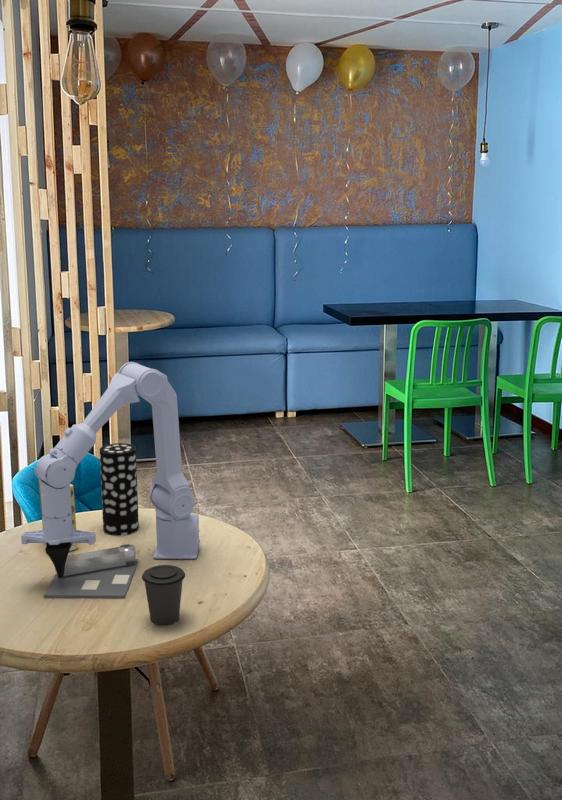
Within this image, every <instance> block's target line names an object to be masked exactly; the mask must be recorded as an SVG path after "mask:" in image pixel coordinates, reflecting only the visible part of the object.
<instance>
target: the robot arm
mask: <svg viewBox="0 0 562 800" xmlns="http://www.w3.org/2000/svg"><path fill="white" fill-rule="evenodd" d="M139 396H140V397H141V398H142V399H143V400H144V401H146V402H148V403H149V404H150V405H151V410H152V413H151V414H152V424H153V425H152V426H153V438H154V450H155V451H154V452H155V465H156V474H155V475H154V476H153V477H152V486H151V489H150V491H149V500H150V503H151V504H152V505H153V506H154V507H155V525H156V526H155V529H156V533H155V534H156V547H155V550H154V553H153V556H152V558H153V559H155V560H165V559H166V560H168V559H169V560H171V559H172V560H196V559H197V557H198V553H199V548H200V545H201V543H200V542H201V539H200V520H199V519H200V518H199V514H195V513H192V512H193V510H194V508H195V497H194V496H193V495H194V494H192V492H191V486H190V485H191V484H190V483H189V482H188V480H187V479H186V478H187V477H185V475H184V474H183V466H182V453H181V438H180V437H181V436H180V421H179V410H178V409H179V408H178V396H177V393H176V391H175V390H174V388H173V386H172V385H171V384H170V382H169V379H168V375H166V374H165V373H163V372H161V371H160V370H158V369H156V368H151V367H149V366H148V367H147V366H145V365H143V364H140V363H138V362H135V361H129V362H128V361H127V362H126V363H124V364H123V365H122V366H120V368H119V369H118V372H116V373H115V374H114V375H113V376H112V377H111V380H110V383H109V386H108V387H107V389H106V390H105V391H104V393H103V394H102V396H101V397H100V398H99V399H98V400H97V402H96V404H95V405H94V406H93V408H92V409H91V411H89V413H88V414H87V415H86V417H85V419H84V420H83V421H82V422H81V423H76V424H72V426H71V427H67V428H66V429H65V430H64V431H63V432H64V433H63V434H64V435H63V436H62V438H60V440H59V441H58V443H57V444H56V445H55V446H54V447H52V448H51V449H50V450H49V451H48V452H49V453H47V454H44V455H43V456H41V457H40V458H39V459H38V461H37V462H36V467H35V468H34V469H33V470H34V475H35V476H36V477H37V479H38V480H40V484H41V502H42V514H41V517H42V516H43V526H42V529H41V530H40V529H39V530H34V531H23V532H22V534H21V535H20V537H21V545H28V544H46V545H45V548H44V551H45V554H46V555H47V556H48V557H49V559H50V561H51V562H52V564H53V566H54V570H55V569H56V572H57V575H58V578H62V577H63V575H64V569H65V563H66V559H67V556H68V555H69V552H70V551H69V550H70V548H71V545H72V543H77V544H88V545H92V546H93V545H94V546H95V543H96V541H97V540H96V535H97V534H96V531H86V530H80V529H76V530H74V529H73V525H72V509H71V491H70V484H71V482H73V481H74V478H75V475H76V469H77V467H78V465H79V464H80V463H81V461H82V460H83V459H84V458H85V456H86V455H87V454H88V453H89V452H90V450H91V449H92V448H93V447H94V445H95V444H96V443H97V438H96V437H97V433H98V431H100V430H101V428H102V427H104V425H105V424H107V422H108V421H109V420H110V418H112V417H113V416H114V414H115V413H116V412H117V411H118V410H119V409H120V408H121V407H122V406H124V405H129V404H135V403H139V402H140V401H141V400H140V398H139ZM41 502H40V503H41ZM56 572H55V573H56Z"/></svg>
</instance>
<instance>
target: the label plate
mask: <svg viewBox="0 0 562 800" xmlns="http://www.w3.org/2000/svg"><path fill="white" fill-rule="evenodd" d="M138 563H139V559H138V558H136V562H135V563H134V564H131V565H124V566H118V567H113V568H107V569H101V570H96V571H90V572H85V573H79V574H73V575H68V576H63V577H62V578H58V576H57V574H56V573H55V575H54V576H53V578H52V580H51V582H50V584H49V585H48V587H47V589H46V591H45V592H44V594H43V598H44V599H125V598H126V596H127V593H128V591H129V589H130V585H131V582H132V579H133V577H134V574H135V572H136V568H137V566H138Z"/></svg>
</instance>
